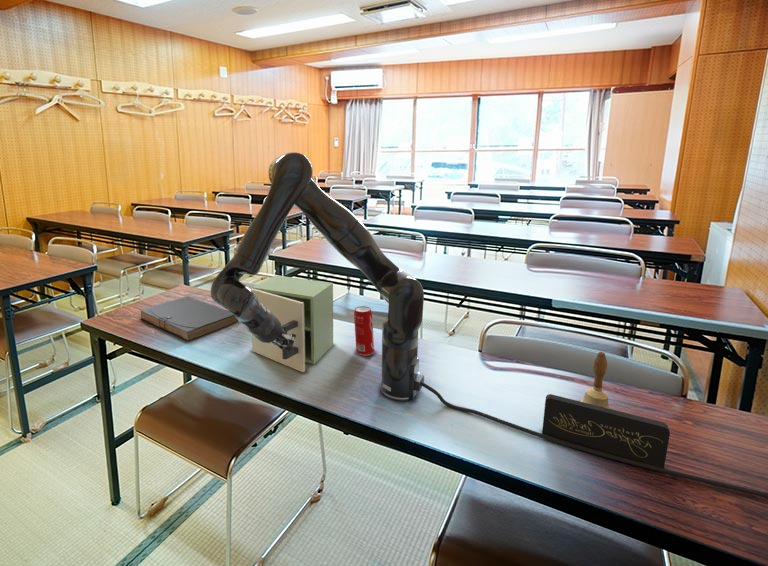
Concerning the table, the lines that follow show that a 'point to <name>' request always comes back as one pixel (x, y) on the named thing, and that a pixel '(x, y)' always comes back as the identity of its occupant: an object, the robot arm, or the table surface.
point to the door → (291, 323)
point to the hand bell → (597, 384)
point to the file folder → (188, 317)
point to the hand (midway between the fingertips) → (286, 347)
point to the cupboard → (308, 310)
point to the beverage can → (364, 330)
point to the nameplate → (606, 430)
